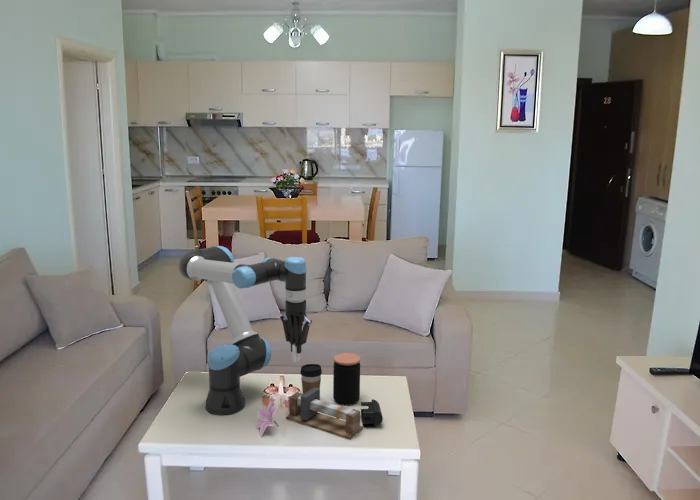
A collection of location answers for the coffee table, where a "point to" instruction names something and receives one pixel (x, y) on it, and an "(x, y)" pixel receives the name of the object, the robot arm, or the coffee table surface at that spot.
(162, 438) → the coffee table surface
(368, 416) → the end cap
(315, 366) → the coffee cup
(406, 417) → the coffee table surface
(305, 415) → the collar
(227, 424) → the coffee table surface
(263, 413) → the lily
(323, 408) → the pipe stand
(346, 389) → the coffee jar
